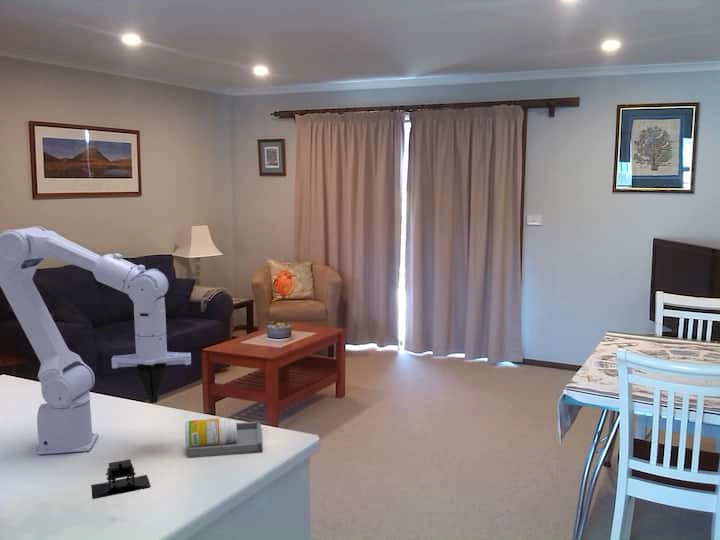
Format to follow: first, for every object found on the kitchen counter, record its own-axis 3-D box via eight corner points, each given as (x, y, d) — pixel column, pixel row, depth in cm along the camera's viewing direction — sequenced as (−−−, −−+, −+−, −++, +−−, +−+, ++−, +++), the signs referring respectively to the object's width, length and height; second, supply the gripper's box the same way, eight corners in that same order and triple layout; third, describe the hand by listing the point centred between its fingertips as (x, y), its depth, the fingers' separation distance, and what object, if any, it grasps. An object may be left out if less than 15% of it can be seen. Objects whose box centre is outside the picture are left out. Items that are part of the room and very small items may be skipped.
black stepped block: (83, 505, 108) (81, 479, 107) (81, 487, 114) (80, 462, 114) (161, 490, 113) (160, 465, 112) (155, 473, 120) (154, 449, 119)
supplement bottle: (186, 429, 131) (235, 425, 133) (186, 454, 128) (237, 449, 130) (185, 415, 127) (236, 411, 130) (185, 441, 124) (237, 436, 126)
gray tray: (187, 457, 125) (187, 449, 125) (192, 433, 137) (192, 425, 136) (262, 451, 127) (261, 444, 127) (260, 428, 139) (260, 421, 139)
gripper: (106, 340, 121) (110, 410, 123) (187, 336, 124) (190, 406, 126) (114, 331, 128) (117, 398, 130) (190, 328, 131) (193, 394, 132)
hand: (153, 401), depth 128 cm, fingers closed
